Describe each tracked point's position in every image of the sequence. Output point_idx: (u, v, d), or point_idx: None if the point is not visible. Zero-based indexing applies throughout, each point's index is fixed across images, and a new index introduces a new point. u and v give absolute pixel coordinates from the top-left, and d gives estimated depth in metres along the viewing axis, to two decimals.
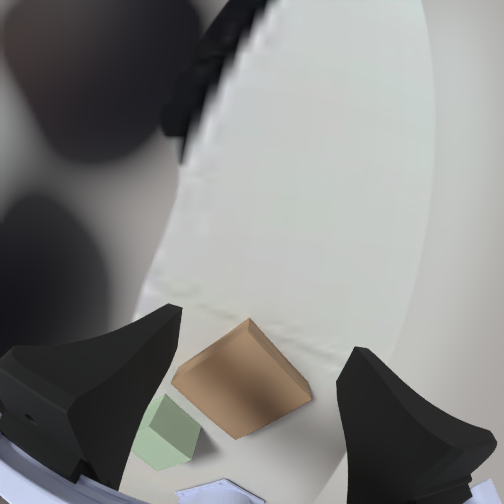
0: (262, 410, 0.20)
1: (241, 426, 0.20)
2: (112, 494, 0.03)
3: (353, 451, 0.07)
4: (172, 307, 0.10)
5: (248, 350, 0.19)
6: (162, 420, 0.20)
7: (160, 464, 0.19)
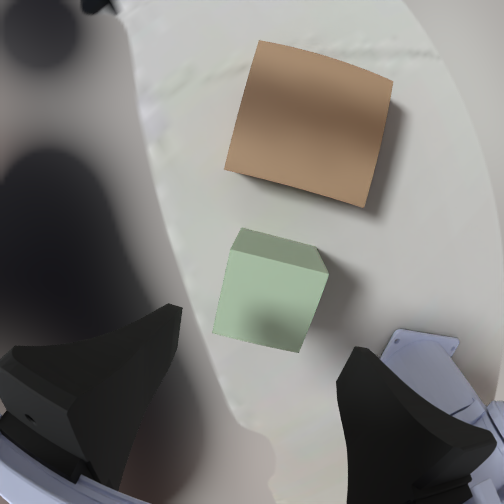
0: (357, 126, 0.13)
1: (354, 173, 0.14)
2: (112, 494, 0.03)
3: (353, 451, 0.07)
4: (172, 307, 0.10)
5: (276, 57, 0.13)
6: (251, 243, 0.15)
7: (294, 330, 0.15)
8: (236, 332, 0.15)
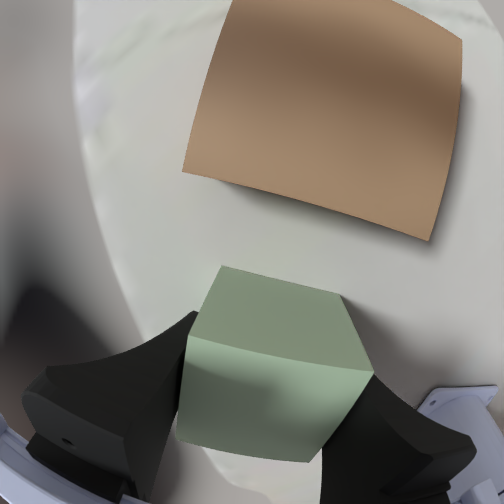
0: (420, 99, 0.07)
1: (418, 182, 0.07)
2: None
3: (327, 451, 0.07)
4: None
5: None
6: (232, 310, 0.08)
7: (304, 442, 0.08)
8: (212, 442, 0.08)
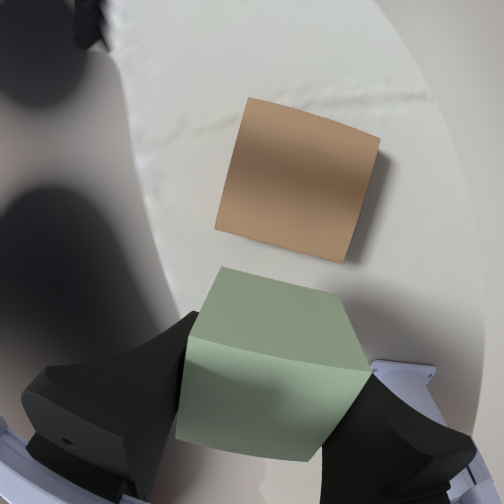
0: (340, 188, 0.15)
1: (335, 233, 0.16)
2: None
3: (327, 451, 0.07)
4: None
5: (265, 116, 0.14)
6: (232, 311, 0.08)
7: (303, 442, 0.08)
8: (212, 441, 0.08)
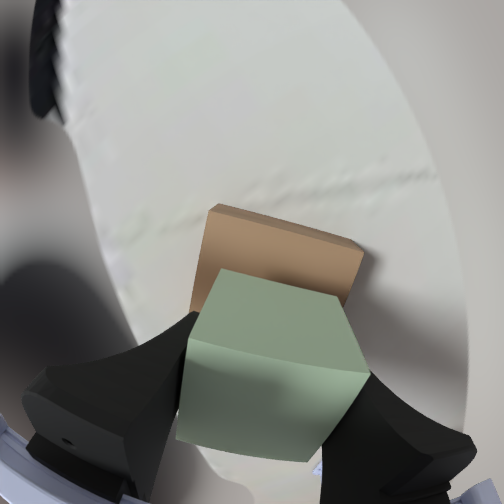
0: None
1: None
2: None
3: (327, 451, 0.07)
4: None
5: (229, 235, 0.14)
6: (232, 313, 0.08)
7: (302, 442, 0.08)
8: (212, 442, 0.08)
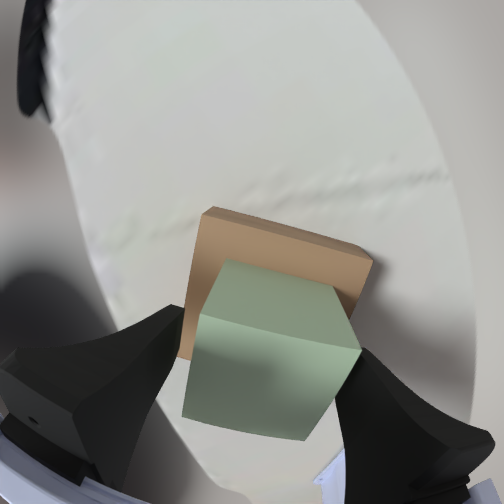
0: None
1: None
2: (112, 494, 0.03)
3: (350, 451, 0.07)
4: (175, 308, 0.10)
5: (224, 241, 0.12)
6: (237, 295, 0.09)
7: (300, 419, 0.09)
8: (216, 419, 0.09)
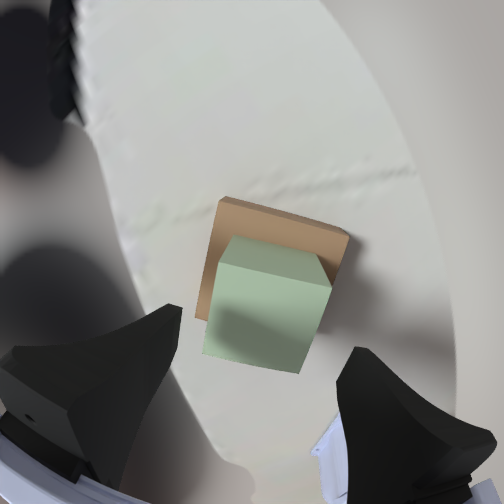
0: None
1: None
2: (112, 494, 0.03)
3: (353, 451, 0.07)
4: (173, 307, 0.10)
5: (235, 221, 0.16)
6: (243, 254, 0.13)
7: (293, 350, 0.13)
8: (229, 353, 0.13)
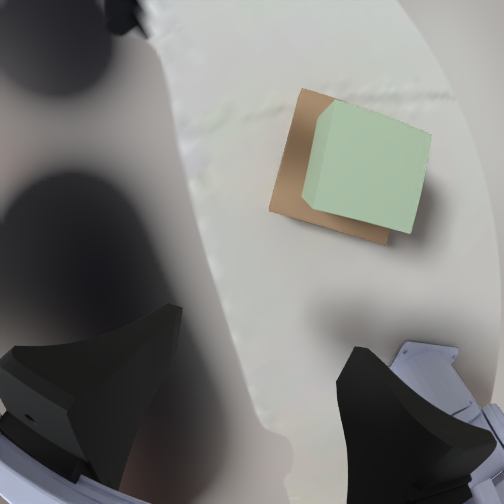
0: None
1: None
2: (112, 494, 0.03)
3: (353, 451, 0.07)
4: (172, 307, 0.10)
5: (318, 107, 0.15)
6: None
7: (405, 201, 0.11)
8: (343, 205, 0.12)
